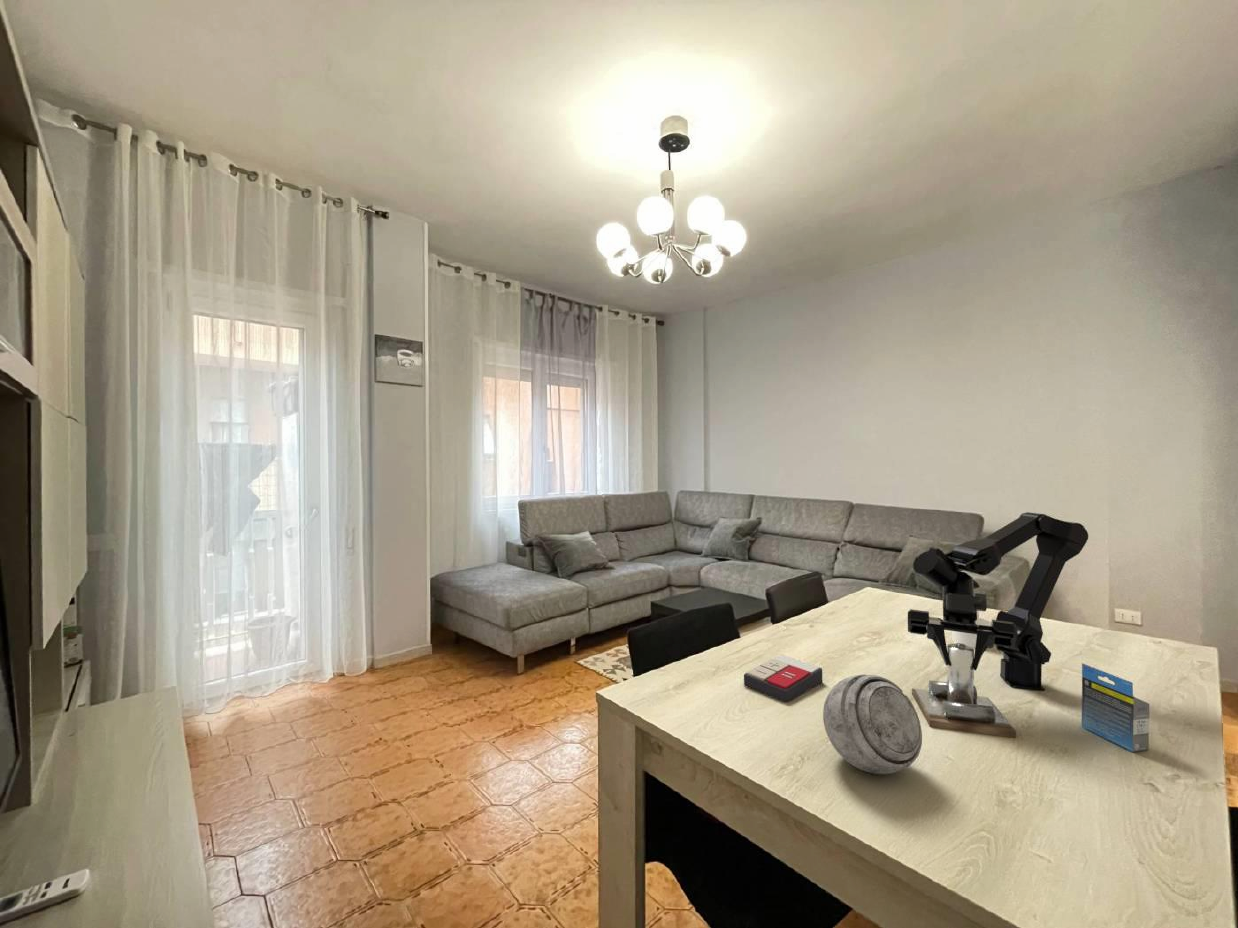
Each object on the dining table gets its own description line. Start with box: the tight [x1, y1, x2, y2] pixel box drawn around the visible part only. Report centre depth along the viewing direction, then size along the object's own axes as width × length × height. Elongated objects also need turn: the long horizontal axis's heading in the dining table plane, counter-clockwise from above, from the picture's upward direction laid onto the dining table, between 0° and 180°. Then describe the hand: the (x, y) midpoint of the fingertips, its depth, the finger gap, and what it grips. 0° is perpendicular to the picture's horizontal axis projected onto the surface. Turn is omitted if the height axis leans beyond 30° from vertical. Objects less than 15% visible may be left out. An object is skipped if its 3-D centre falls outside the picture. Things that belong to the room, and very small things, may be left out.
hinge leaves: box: [914, 680, 1012, 727], centre depth 105 cm, size 13×12×3 cm
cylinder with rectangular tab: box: [951, 611, 992, 649], centre depth 144 cm, size 9×9×12 cm
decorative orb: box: [822, 674, 923, 775], centre depth 88 cm, size 15×14×15 cm
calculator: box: [743, 654, 823, 703], centre depth 119 cm, size 11×4×15 cm
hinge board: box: [911, 688, 1017, 739], centre depth 105 cm, size 14×14×1 cm
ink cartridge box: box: [1081, 663, 1150, 753], centre depth 96 cm, size 9×4×12 cm, turn 9°
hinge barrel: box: [946, 643, 975, 704], centre depth 105 cm, size 4×4×12 cm
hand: (960, 666), depth 104 cm, fingers closed on hinge barrel, 4 cm apart
